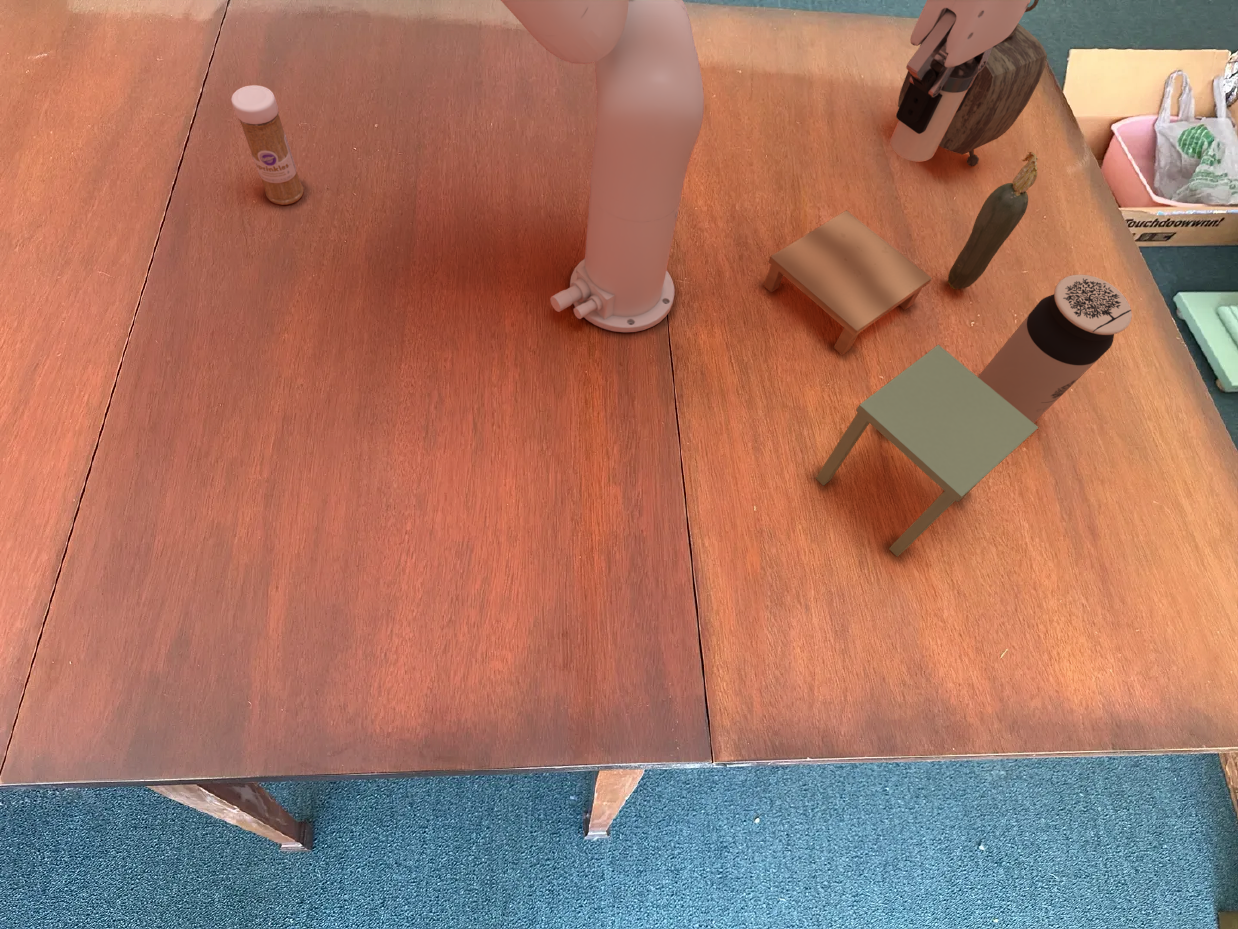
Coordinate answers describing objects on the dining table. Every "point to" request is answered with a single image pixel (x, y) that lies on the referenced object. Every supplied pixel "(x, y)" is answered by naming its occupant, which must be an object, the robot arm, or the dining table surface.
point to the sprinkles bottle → (268, 143)
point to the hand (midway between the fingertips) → (927, 113)
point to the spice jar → (935, 114)
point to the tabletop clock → (995, 93)
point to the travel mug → (1057, 343)
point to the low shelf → (848, 274)
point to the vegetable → (993, 226)
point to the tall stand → (938, 430)
